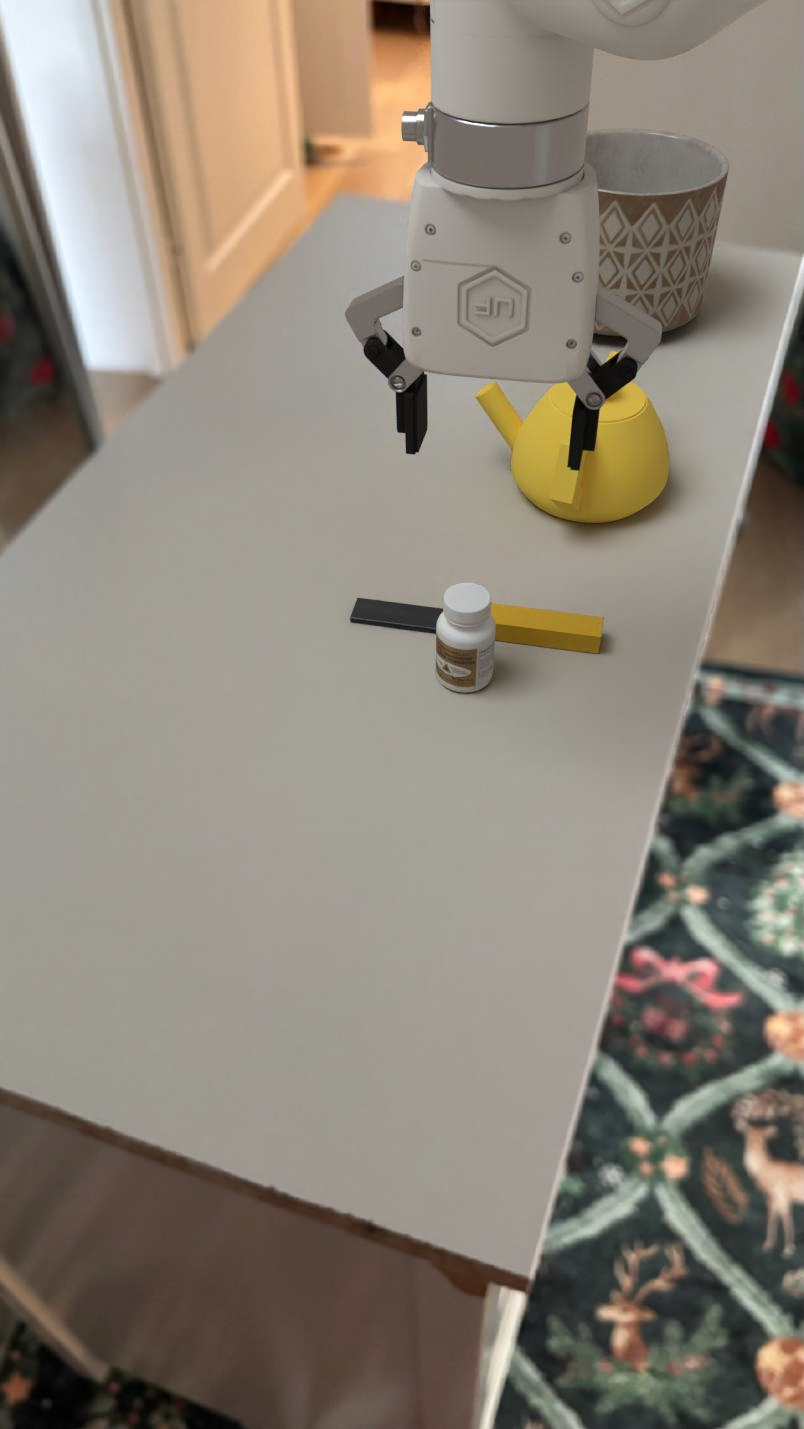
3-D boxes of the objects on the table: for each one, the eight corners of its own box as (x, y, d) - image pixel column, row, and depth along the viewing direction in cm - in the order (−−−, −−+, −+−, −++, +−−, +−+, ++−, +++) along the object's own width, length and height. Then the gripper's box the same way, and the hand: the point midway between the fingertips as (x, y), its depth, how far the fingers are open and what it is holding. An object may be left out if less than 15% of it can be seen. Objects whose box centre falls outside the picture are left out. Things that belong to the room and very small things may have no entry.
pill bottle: (424, 678, 83) (424, 601, 77) (457, 647, 85) (459, 570, 80) (471, 703, 81) (475, 625, 75) (503, 670, 83) (509, 592, 78)
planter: (554, 265, 134) (567, 120, 122) (711, 287, 129) (741, 138, 117) (511, 335, 121) (522, 181, 109) (684, 362, 116) (714, 204, 105)
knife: (600, 633, 86) (603, 616, 85) (598, 655, 84) (601, 637, 83) (357, 601, 89) (356, 584, 88) (350, 622, 87) (349, 605, 86)
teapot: (503, 411, 110) (509, 307, 102) (683, 445, 105) (704, 338, 97) (437, 521, 97) (438, 411, 89) (639, 565, 92) (659, 452, 84)
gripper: (315, 160, 51) (339, 470, 64) (686, 179, 48) (637, 500, 61) (354, 110, 56) (370, 406, 69) (692, 124, 53) (645, 431, 66)
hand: (495, 450), depth 65 cm, fingers open, 9 cm apart
